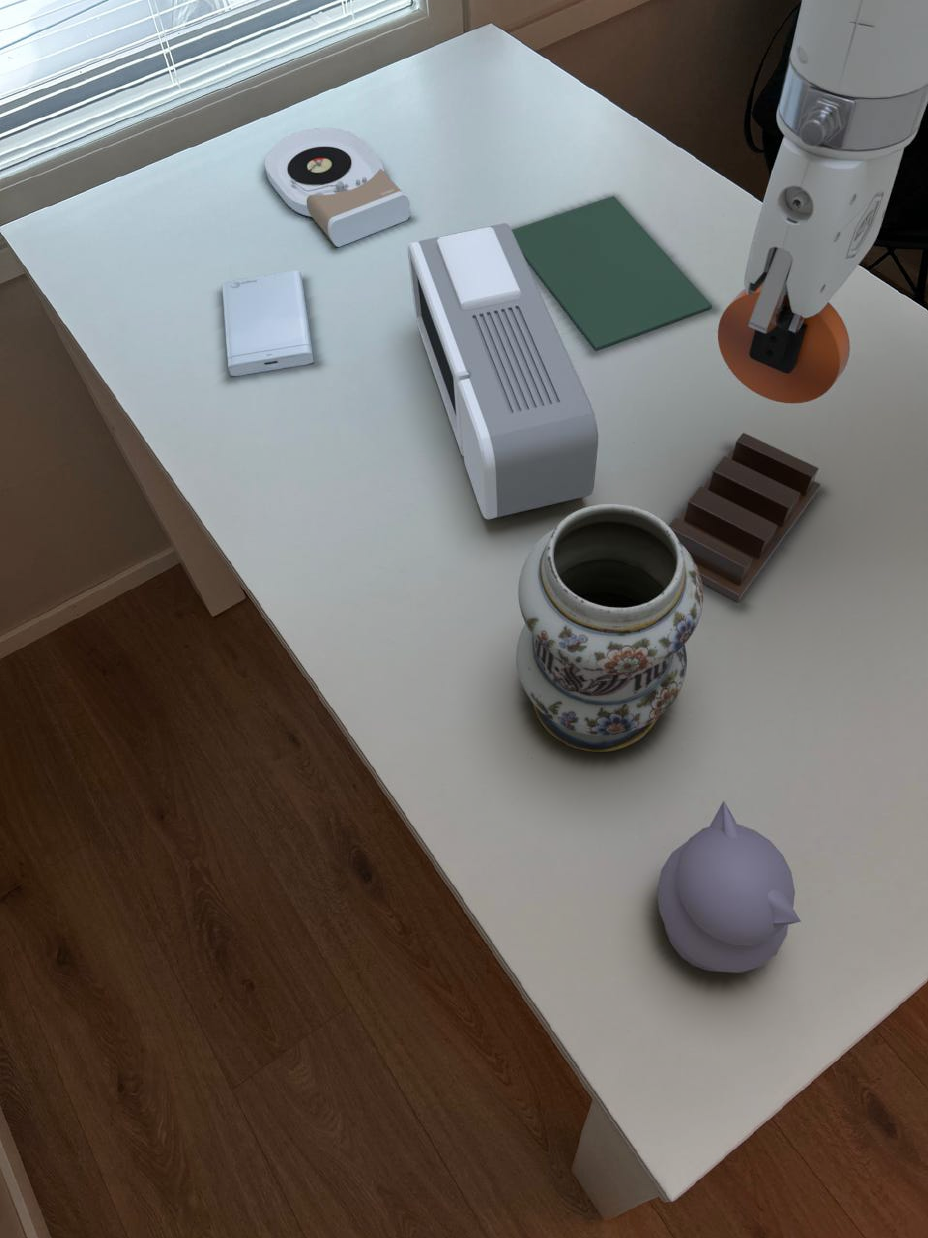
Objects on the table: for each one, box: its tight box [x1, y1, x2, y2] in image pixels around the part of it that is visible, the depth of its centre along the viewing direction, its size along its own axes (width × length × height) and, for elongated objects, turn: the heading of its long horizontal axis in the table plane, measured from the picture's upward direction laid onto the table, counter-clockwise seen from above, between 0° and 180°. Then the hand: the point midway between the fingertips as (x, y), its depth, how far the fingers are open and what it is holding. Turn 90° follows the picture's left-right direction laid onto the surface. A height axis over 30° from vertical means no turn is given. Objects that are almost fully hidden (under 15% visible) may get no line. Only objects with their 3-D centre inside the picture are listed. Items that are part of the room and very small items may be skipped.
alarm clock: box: [407, 222, 599, 520], centre depth 85 cm, size 27×9×12 cm, turn 14°
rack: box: [668, 432, 821, 603], centre depth 80 cm, size 14×8×4 cm, turn 143°
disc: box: [717, 283, 851, 404], centre depth 67 cm, size 2×9×9 cm, turn 53°
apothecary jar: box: [515, 503, 704, 753], centre depth 66 cm, size 12×12×18 cm
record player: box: [264, 127, 411, 248], centre depth 108 cm, size 12×3×20 cm
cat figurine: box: [657, 800, 802, 974], centre depth 59 cm, size 8×8×12 cm
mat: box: [511, 195, 713, 351], centre depth 99 cm, size 20×13×1 cm, turn 24°
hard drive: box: [221, 270, 314, 377], centre depth 97 cm, size 2×8×12 cm
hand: (778, 352), depth 67 cm, fingers closed on disc, 1 cm apart
